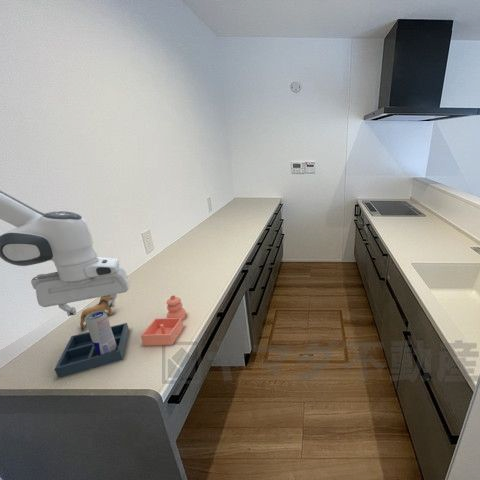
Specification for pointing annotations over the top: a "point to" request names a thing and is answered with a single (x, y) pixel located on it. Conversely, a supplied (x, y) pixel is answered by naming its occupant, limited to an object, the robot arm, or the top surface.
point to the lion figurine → (96, 309)
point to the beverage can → (101, 332)
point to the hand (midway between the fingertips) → (93, 310)
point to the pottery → (166, 325)
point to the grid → (90, 352)
